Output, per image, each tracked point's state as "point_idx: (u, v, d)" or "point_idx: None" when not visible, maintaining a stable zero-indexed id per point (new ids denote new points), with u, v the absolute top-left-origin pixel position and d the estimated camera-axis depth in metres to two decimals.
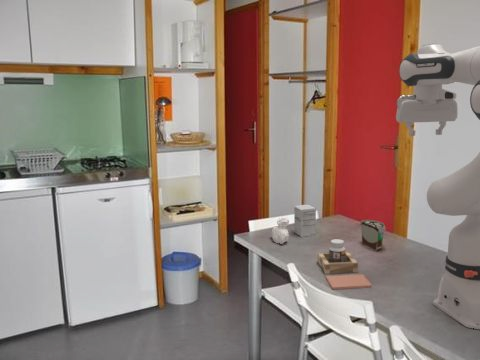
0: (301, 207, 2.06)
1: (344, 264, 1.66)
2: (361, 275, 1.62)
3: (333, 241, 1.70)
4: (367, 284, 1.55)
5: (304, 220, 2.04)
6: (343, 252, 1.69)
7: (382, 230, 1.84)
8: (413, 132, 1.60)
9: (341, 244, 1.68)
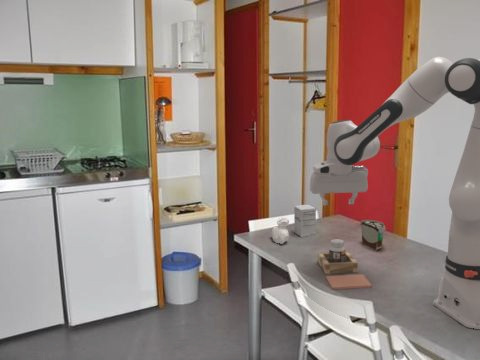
0: (301, 207, 2.06)
1: (344, 264, 1.66)
2: (361, 275, 1.62)
3: (333, 241, 1.70)
4: (367, 284, 1.55)
5: (304, 220, 2.04)
6: (343, 252, 1.69)
7: (382, 230, 1.84)
8: None
9: (341, 244, 1.68)
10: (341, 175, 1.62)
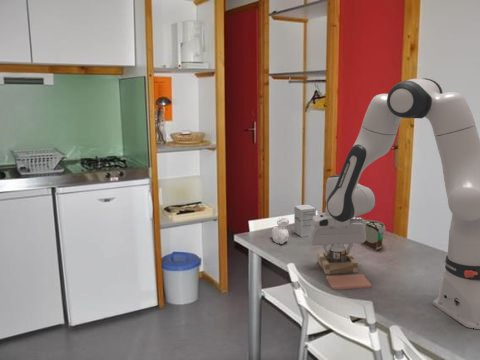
0: (301, 207, 2.06)
1: (344, 264, 1.66)
2: (361, 275, 1.62)
3: None
4: (367, 284, 1.55)
5: (304, 220, 2.04)
6: (343, 252, 1.69)
7: (382, 230, 1.84)
8: None
9: (341, 244, 1.68)
10: (339, 227, 1.66)
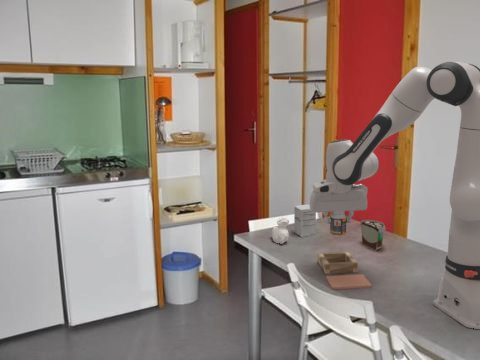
0: (301, 207, 2.06)
1: (344, 264, 1.66)
2: (361, 275, 1.62)
3: None
4: (367, 284, 1.55)
5: (304, 220, 2.04)
6: (344, 220, 1.66)
7: (382, 230, 1.84)
8: None
9: (342, 211, 1.65)
10: (340, 194, 1.63)
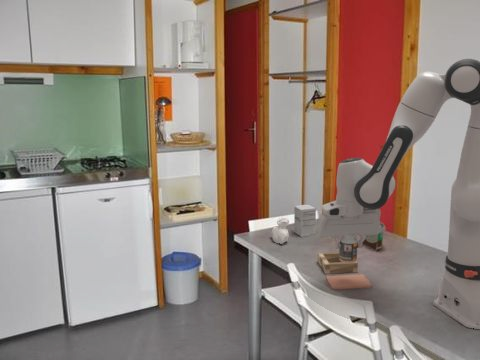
0: (301, 207, 2.06)
1: (344, 264, 1.66)
2: (361, 275, 1.62)
3: None
4: (367, 284, 1.55)
5: (304, 220, 2.04)
6: (355, 245, 1.54)
7: (382, 230, 1.84)
8: None
9: (353, 235, 1.53)
10: (352, 217, 1.51)
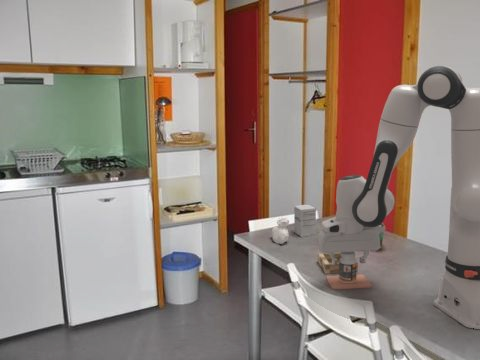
0: (301, 207, 2.06)
1: None
2: (361, 275, 1.62)
3: (343, 253, 1.56)
4: (367, 284, 1.55)
5: (304, 220, 2.04)
6: (355, 265, 1.55)
7: (382, 230, 1.84)
8: None
9: (352, 256, 1.54)
10: (351, 234, 1.52)
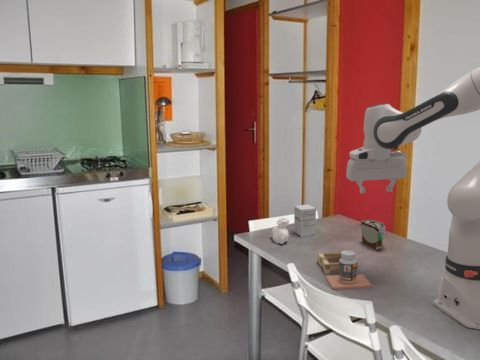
0: (301, 207, 2.06)
1: None
2: (361, 275, 1.62)
3: (343, 253, 1.56)
4: (367, 284, 1.55)
5: (304, 220, 2.04)
6: (355, 265, 1.55)
7: (382, 230, 1.84)
8: None
9: (352, 256, 1.54)
10: (380, 161, 1.56)
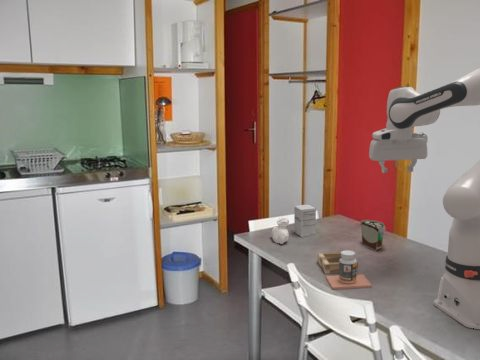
0: (301, 207, 2.06)
1: None
2: (361, 275, 1.62)
3: (343, 253, 1.56)
4: (367, 284, 1.55)
5: (304, 220, 2.04)
6: (355, 265, 1.55)
7: (382, 230, 1.84)
8: None
9: (352, 256, 1.54)
10: (401, 141, 1.63)
